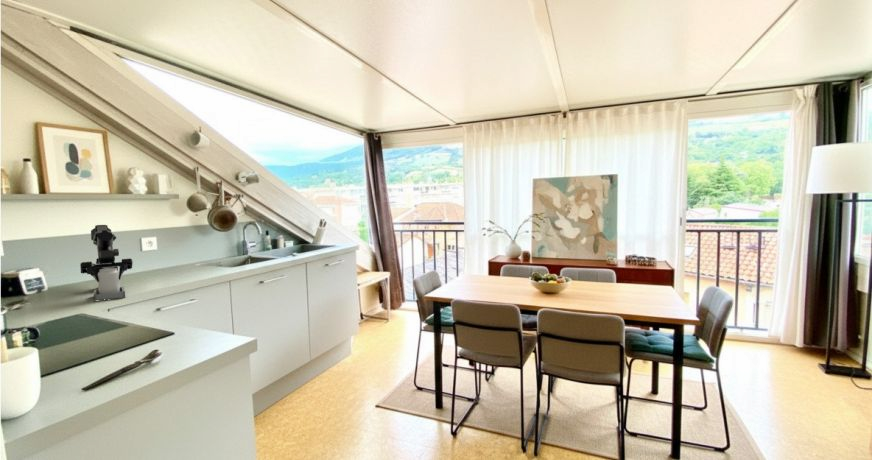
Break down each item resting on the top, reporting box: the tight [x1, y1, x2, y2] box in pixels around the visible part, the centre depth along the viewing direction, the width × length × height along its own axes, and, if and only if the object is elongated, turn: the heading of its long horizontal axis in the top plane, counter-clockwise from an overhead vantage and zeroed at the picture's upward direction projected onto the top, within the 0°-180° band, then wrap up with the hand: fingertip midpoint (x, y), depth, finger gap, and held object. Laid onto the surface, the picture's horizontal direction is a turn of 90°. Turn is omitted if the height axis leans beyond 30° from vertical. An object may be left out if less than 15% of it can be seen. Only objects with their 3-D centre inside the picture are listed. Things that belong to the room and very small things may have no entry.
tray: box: [93, 286, 126, 301], centre depth 180 cm, size 11×11×3 cm
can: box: [97, 268, 121, 294], centre depth 180 cm, size 8×8×12 cm
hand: (108, 280), depth 179 cm, fingers closed on can, 7 cm apart
